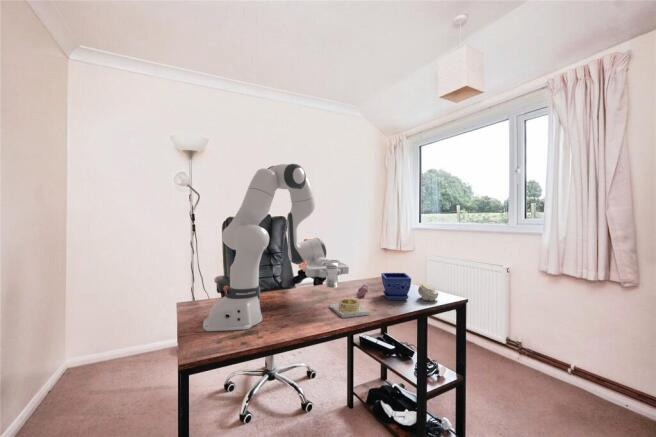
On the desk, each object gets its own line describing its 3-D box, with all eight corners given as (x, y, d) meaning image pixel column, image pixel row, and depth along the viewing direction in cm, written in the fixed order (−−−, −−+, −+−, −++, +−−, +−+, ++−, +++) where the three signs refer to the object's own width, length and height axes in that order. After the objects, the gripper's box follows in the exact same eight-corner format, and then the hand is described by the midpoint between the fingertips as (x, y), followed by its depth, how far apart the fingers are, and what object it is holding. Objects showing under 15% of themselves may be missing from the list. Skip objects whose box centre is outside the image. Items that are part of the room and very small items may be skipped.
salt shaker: (328, 288, 122) (328, 264, 122) (324, 285, 127) (324, 262, 126) (339, 287, 124) (339, 264, 123) (335, 284, 128) (335, 262, 128)
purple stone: (363, 300, 148) (369, 289, 147) (355, 296, 148) (362, 284, 148) (364, 295, 157) (370, 284, 157) (357, 291, 158) (363, 280, 157)
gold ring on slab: (342, 318, 118) (342, 308, 118) (329, 307, 133) (329, 298, 132) (370, 314, 123) (370, 305, 123) (355, 304, 137) (355, 295, 137)
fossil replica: (433, 296, 151) (414, 298, 151) (431, 280, 152) (413, 282, 151) (443, 301, 139) (423, 303, 139) (441, 284, 140) (421, 286, 139)
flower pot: (384, 301, 142) (384, 277, 141) (380, 294, 155) (380, 272, 155) (411, 301, 141) (411, 278, 141) (405, 294, 154) (405, 272, 154)
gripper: (301, 262, 133) (309, 268, 120) (341, 260, 140) (353, 265, 127) (301, 275, 134) (309, 283, 121) (341, 272, 141) (353, 279, 128)
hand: (332, 273), depth 124 cm, fingers closed on salt shaker, 5 cm apart
